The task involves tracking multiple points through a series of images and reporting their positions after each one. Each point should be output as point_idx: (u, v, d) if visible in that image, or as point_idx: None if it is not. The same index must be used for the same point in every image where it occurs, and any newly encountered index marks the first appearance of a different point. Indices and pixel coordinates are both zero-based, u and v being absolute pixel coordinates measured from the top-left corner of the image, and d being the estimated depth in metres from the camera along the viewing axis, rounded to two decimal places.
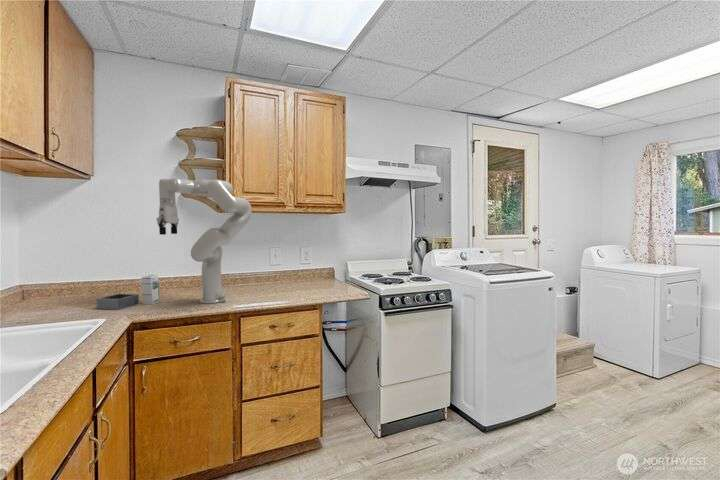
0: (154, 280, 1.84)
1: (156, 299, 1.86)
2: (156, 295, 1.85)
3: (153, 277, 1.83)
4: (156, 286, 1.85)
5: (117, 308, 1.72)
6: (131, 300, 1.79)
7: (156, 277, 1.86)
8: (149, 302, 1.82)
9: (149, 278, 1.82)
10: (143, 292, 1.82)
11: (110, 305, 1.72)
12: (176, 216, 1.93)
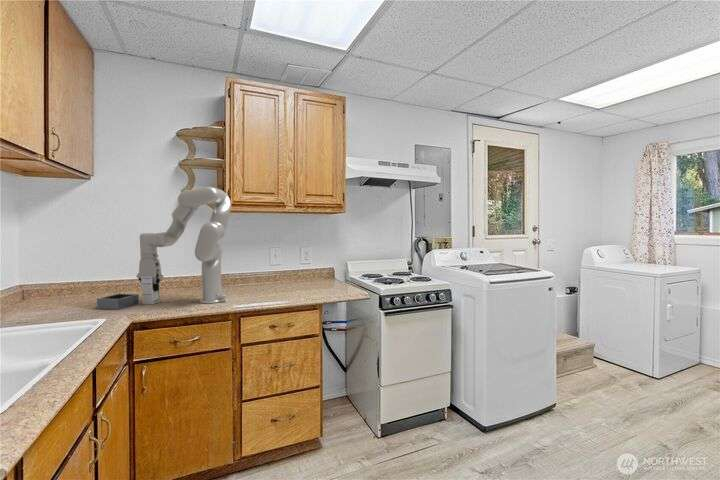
0: None
1: (156, 298, 1.85)
2: (156, 295, 1.85)
3: None
4: None
5: (117, 308, 1.72)
6: (131, 300, 1.79)
7: None
8: (149, 302, 1.82)
9: (149, 278, 1.82)
10: (143, 292, 1.82)
11: (110, 305, 1.72)
12: None
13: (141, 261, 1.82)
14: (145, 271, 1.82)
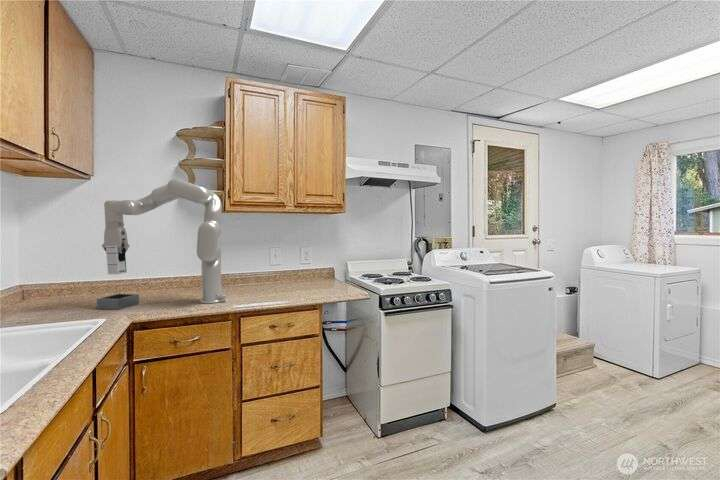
0: None
1: (123, 269, 1.78)
2: (122, 265, 1.77)
3: None
4: None
5: (117, 308, 1.72)
6: (131, 300, 1.79)
7: None
8: (114, 272, 1.75)
9: (114, 247, 1.74)
10: (108, 262, 1.75)
11: (110, 305, 1.72)
12: None
13: (106, 230, 1.75)
14: (110, 240, 1.75)
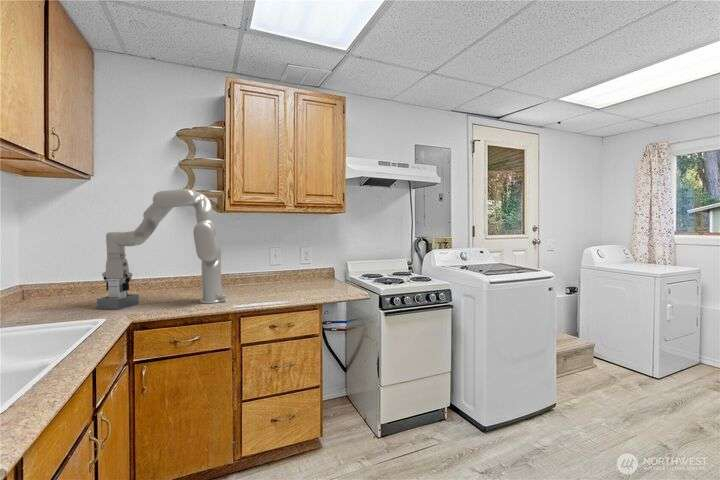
0: (122, 282, 1.78)
1: None
2: None
3: (120, 279, 1.77)
4: None
5: (117, 308, 1.72)
6: (131, 300, 1.79)
7: None
8: None
9: (116, 280, 1.75)
10: (110, 295, 1.76)
11: (110, 305, 1.72)
12: None
13: (108, 261, 1.76)
14: (112, 271, 1.76)
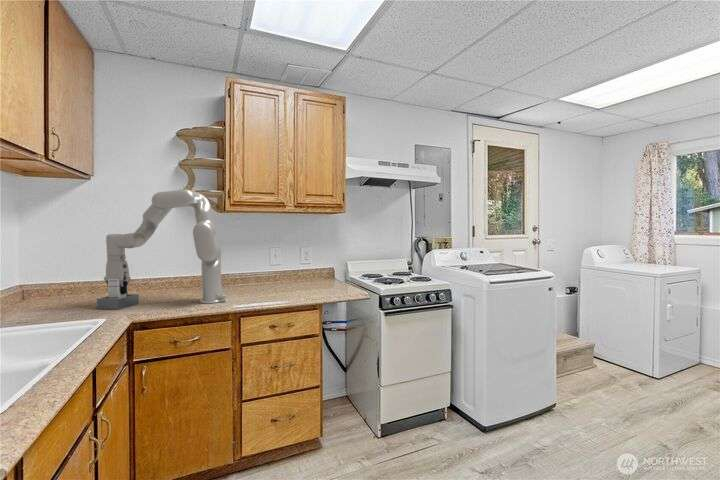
0: None
1: None
2: None
3: None
4: None
5: (117, 308, 1.72)
6: (131, 300, 1.79)
7: None
8: None
9: (116, 280, 1.75)
10: (110, 295, 1.76)
11: (110, 305, 1.72)
12: None
13: (108, 263, 1.76)
14: (112, 273, 1.76)
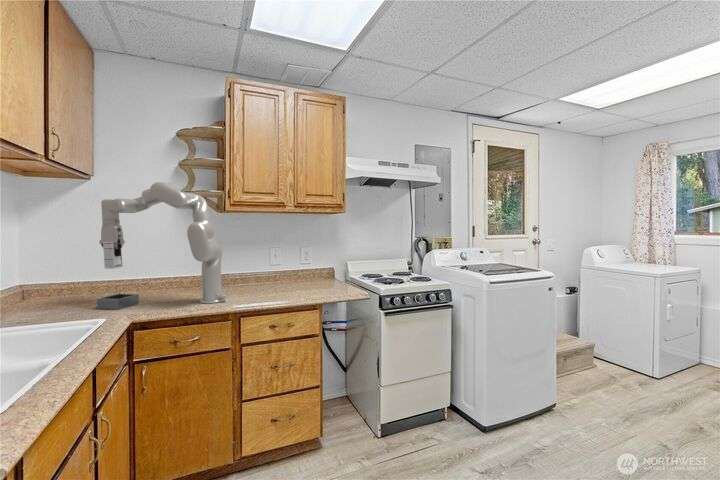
0: None
1: (119, 264, 1.90)
2: (118, 260, 1.89)
3: None
4: None
5: (117, 308, 1.72)
6: (131, 300, 1.79)
7: None
8: (111, 266, 1.87)
9: (110, 243, 1.86)
10: (105, 257, 1.87)
11: (110, 305, 1.72)
12: None
13: (103, 226, 1.87)
14: (107, 236, 1.87)
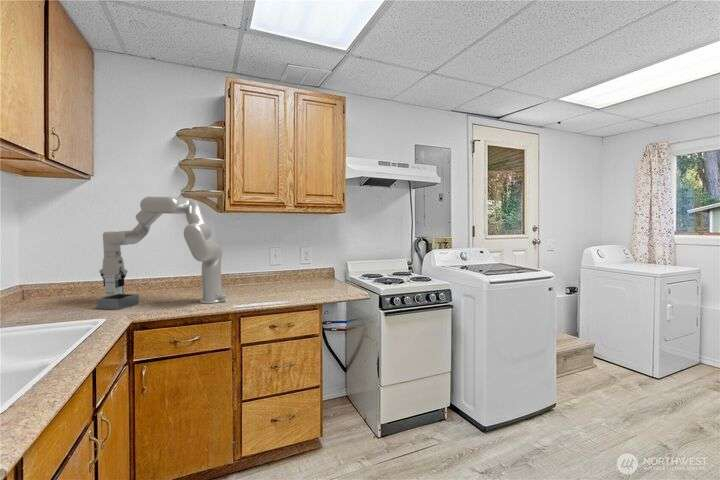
0: (118, 278, 1.90)
1: None
2: (119, 293, 1.91)
3: (116, 276, 1.89)
4: None
5: (117, 308, 1.72)
6: (131, 300, 1.79)
7: None
8: None
9: (112, 277, 1.88)
10: (106, 290, 1.88)
11: (110, 305, 1.72)
12: None
13: (104, 258, 1.88)
14: (108, 268, 1.88)
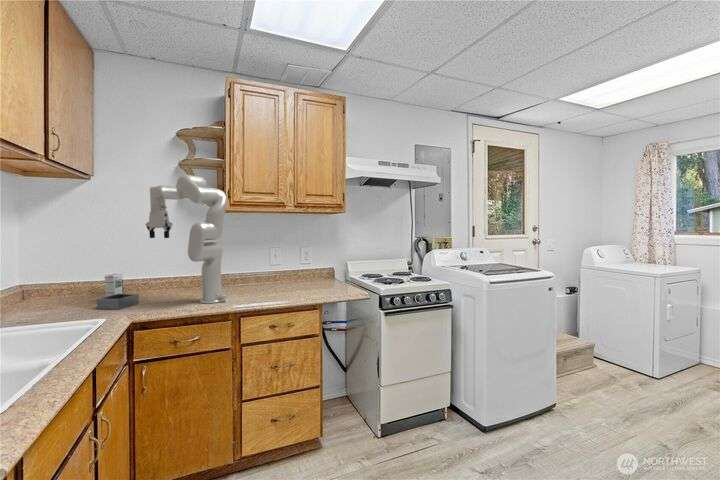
0: (118, 278, 1.90)
1: None
2: (119, 293, 1.91)
3: (116, 276, 1.89)
4: (119, 284, 1.91)
5: (117, 308, 1.72)
6: (131, 300, 1.79)
7: (120, 276, 1.92)
8: None
9: (112, 277, 1.88)
10: (106, 290, 1.88)
11: (110, 305, 1.72)
12: None
13: (151, 212, 2.02)
14: (155, 221, 2.01)
